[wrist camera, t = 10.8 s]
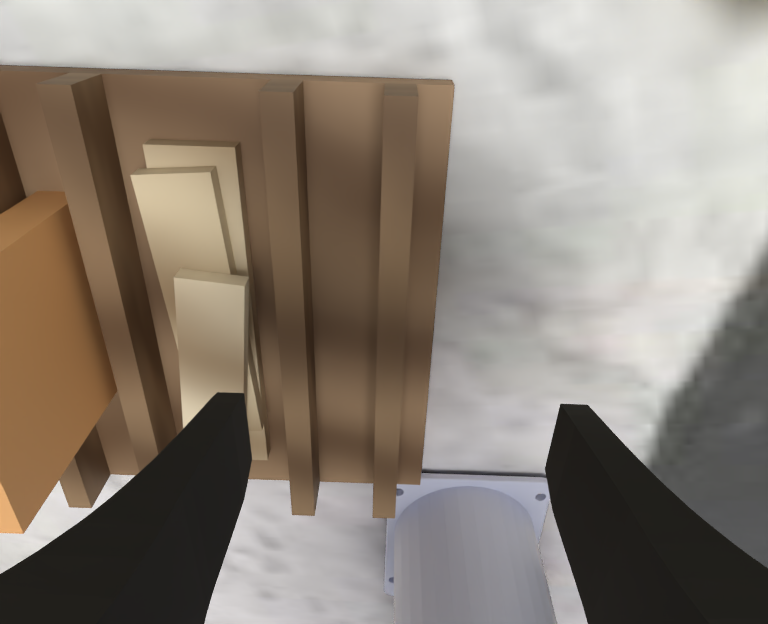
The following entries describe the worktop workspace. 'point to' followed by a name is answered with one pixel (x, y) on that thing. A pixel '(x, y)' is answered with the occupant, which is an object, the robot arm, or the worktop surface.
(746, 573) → the robot arm
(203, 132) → the rack
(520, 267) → the worktop surface
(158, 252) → the offcut stack
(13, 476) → the orange square slab
